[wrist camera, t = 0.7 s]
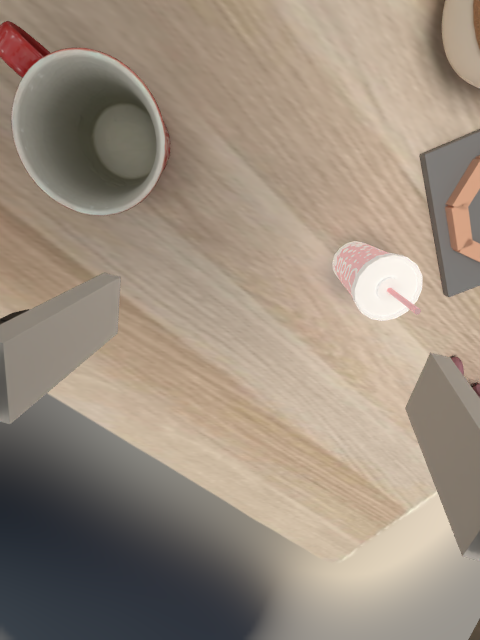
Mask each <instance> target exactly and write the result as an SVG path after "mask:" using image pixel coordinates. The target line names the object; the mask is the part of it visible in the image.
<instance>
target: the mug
mask: <svg viewBox="0 0 480 640" xmlns="http://www.w3.org/2000/svg"><path fill="white" fill-rule="evenodd" d="M0 57H1V58H2V59H3V60H4V61H5V63H6V64H7V65H8V66H9V67H11V68H12V69H13V70H14V71H15V72H16V73H17V74H18V75H19V76H21V77H22V80H21V82H20V84H19V86H18V88H17V90H16V93H15V97H14V101H13V106H12V114H11V125H12V134H13V139H14V143H15V146H16V149H17V152H18V155H19V157H20V159H21V162H22V163H23V165H24V167H25V169H26V171H27V172H28V174H29V175H30V177H31V178H32V179H33V181H34V182H35V183H36V185H37V186H38V187H39V188H40V189H41V190H42V191H44V192H45V193H46V194H47V195H48V196H49V197H51V198H52V199H53V200H55V201H56V202H58V203H59V204H61V205H63V206H65V207H67V208H69V209H71V210H74V211H76V212H79V213H83V214H87V215H94V216H105V215H113V214H118V213H121V212H124V211H126V210H129V209H131V208H132V207H134V206H136V205H137V204H139V203H140V202H142V201H143V200H144V199H145V198H146V197H147V196H148V195H149V194H150V192H151V191H152V190H153V188H154V187H155V185H156V183H157V182H158V180H159V178H160V175H161V173H162V171H163V170H164V168H165V166H166V164H167V162H168V159H169V155H170V138H169V134H168V131H167V128H166V125H165V123H164V121H163V119H162V116H161V113H160V110H159V107H158V105H157V103H156V101H155V99H154V97H153V96H152V94H151V93H150V91H149V89H148V88H147V86H146V85H145V84H144V83H143V81H142V80H141V79H140V78H139V77H138V76H137V75H136V74H135V73H134V72H133V71H132V70H131V69H130V68H129V67H127V66H126V65H125V64H123V63H122V62H120V61H119V60H117V59H116V58H114V57H112V56H110V55H107V54H105V53H102V52H100V51H96V50H93V49H88V48H66V49H61V50H58V51H55V52H52V53H50V52H49V51H48V50H47V49H45V48H44V47H43V46H42V45H41V44H40V43H38V42H37V41H36V40H35V39H34V38H32V37H31V36H30V35H29V34H28V33H26V32H25V31H24V30H23V29H21V28H20V27H18V26H17V25H15V24H14V23H12V22H9V21H6V22H4V23H3V24H1V25H0Z"/></svg>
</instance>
